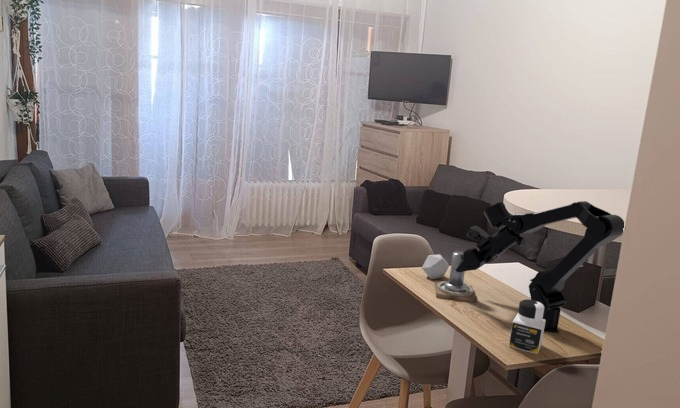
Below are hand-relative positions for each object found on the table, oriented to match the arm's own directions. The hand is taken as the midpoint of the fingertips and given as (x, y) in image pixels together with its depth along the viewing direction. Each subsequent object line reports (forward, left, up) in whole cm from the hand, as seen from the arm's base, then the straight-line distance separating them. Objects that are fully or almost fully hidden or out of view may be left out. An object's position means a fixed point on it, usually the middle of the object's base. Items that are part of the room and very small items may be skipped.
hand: (462, 268), depth 176 cm
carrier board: (+1, -1, -9) cm, 9 cm away
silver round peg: (+1, -1, -8) cm, 8 cm away
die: (+7, -15, -9) cm, 19 cm away
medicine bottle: (-15, +33, -9) cm, 37 cm away
